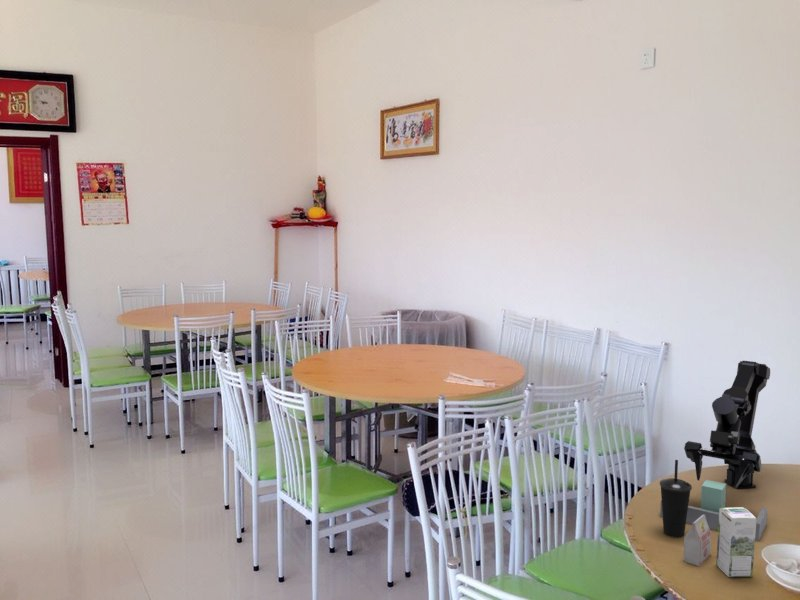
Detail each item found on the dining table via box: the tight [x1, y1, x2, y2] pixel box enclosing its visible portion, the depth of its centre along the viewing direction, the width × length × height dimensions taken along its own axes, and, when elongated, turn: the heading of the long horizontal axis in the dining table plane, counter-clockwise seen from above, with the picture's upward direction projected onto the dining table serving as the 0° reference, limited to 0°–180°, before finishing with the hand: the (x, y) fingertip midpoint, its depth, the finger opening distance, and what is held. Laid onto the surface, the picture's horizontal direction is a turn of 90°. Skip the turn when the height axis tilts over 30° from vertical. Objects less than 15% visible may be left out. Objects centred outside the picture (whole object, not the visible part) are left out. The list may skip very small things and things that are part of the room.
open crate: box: [659, 499, 768, 542], centre depth 180 cm, size 12×24×5 cm, turn 53°
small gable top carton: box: [683, 515, 712, 567], centre depth 161 cm, size 4×7×10 cm, turn 136°
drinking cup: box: [659, 459, 693, 539], centre depth 172 cm, size 8×8×20 cm
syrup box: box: [715, 506, 757, 578], centre depth 154 cm, size 6×6×14 cm
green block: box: [700, 479, 727, 513], centre depth 179 cm, size 5×5×10 cm
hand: (716, 483), depth 181 cm, fingers open, 9 cm apart
